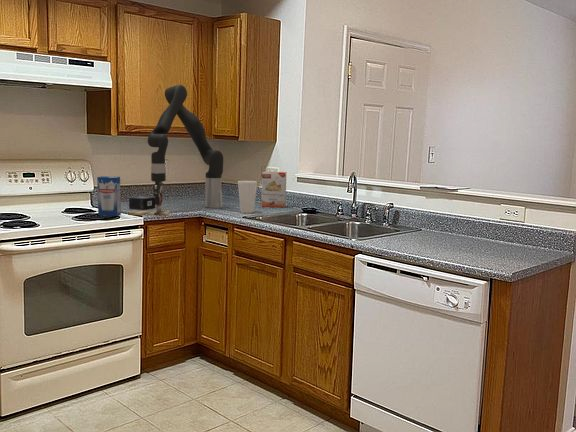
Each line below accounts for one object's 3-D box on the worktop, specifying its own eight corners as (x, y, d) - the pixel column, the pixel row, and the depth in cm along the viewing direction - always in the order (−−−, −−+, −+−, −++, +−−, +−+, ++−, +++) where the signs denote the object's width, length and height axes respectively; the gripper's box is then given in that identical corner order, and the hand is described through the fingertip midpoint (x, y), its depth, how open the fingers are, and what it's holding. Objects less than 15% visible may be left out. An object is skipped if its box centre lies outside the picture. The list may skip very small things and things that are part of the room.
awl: (162, 211, 323) (161, 195, 322) (160, 212, 320) (160, 195, 319) (156, 211, 323) (156, 194, 322) (155, 212, 320) (155, 195, 319)
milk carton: (121, 214, 317) (120, 176, 314) (117, 216, 310) (116, 177, 308) (102, 214, 317) (101, 176, 314) (98, 216, 311) (97, 177, 308)
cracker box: (261, 207, 359) (261, 171, 356) (262, 205, 365) (263, 171, 362) (284, 207, 357) (285, 172, 354) (285, 206, 363) (286, 171, 360)
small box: (143, 198, 336) (128, 197, 340) (143, 209, 337) (128, 209, 341) (155, 196, 345) (140, 195, 350) (155, 208, 346) (141, 207, 351)
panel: (169, 213, 326) (169, 211, 326) (166, 215, 317) (166, 213, 317) (132, 212, 326) (132, 210, 326) (128, 214, 317) (128, 212, 317)
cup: (249, 210, 343) (249, 180, 340) (260, 212, 335) (261, 181, 333) (233, 212, 335) (233, 181, 333) (244, 214, 328) (245, 182, 325)
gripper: (154, 171, 326) (154, 201, 328) (148, 172, 311) (148, 205, 314) (168, 171, 326) (168, 202, 328) (162, 173, 311) (163, 205, 314)
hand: (158, 203), depth 321 cm, fingers open, 6 cm apart
